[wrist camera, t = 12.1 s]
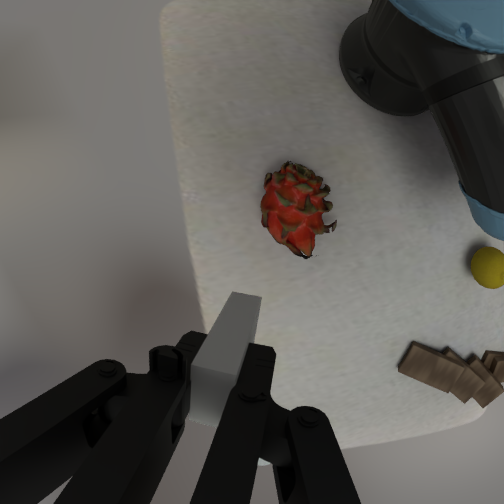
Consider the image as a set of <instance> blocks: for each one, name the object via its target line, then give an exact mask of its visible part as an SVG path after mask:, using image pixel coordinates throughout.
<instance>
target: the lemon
mask: <svg viewBox="0 0 504 504" xmlns="http://www.w3.org/2000/svg"><path fill="white" fill-rule="evenodd" d="M471 272H472V275H473V277H474V279H475V280H476V281H477V282H478V283H479V284H480V285H482V286H483V287H486V288H490V289H496V288H499V287H501V286H502V285H504V254H503V253H502V252H501V251H500V250H498V249H496V248H494V247H483V248H481V249H479V250H478V251H477V252H476V253H475V254H474V256H473V258H472V260H471Z"/></svg>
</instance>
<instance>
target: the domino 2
mask: <svg viewBox="0 0 504 504" xmlns="http://www.w3.org/2000/svg"><path fill="white" fill-rule="evenodd" d="M442 354H443V355H445V356H448V357H450V358H452V359H454V360H457V361H459V362H461V363H463V364H464V367H465V369H464V371H463V372H462V374H461V375H460V377H459V378H458V380H457V381H456V383H455V384H454V386H453V387H452V388H451V390H450V392H451V393H452V394H454V395H455V396H456V397H457V398H458V399H460V400H461V401H462V402H463V403H464V404H465V403H466V402H467V401H468V400H469V399H470V398H471V397H472V396H473V395H474V394H475V393H476V392H477V391H478V390H479V389H480V388H482V387H483V386H484V384H485V380H484V378H483V377H481V376H480V375H479V374H478V373H477V372H476V371H475V370H474V369H473V368H472V367H470V366H469V365H468V364H467V363H466V362H465V361H464V360H463V359H461V358H460V357H459V356H458V355H457V354H456V353H455V352H453V351H452V350H451V349H450V348H449V347H448V348H447V349H446V350H445V351H444V352H443V353H442Z"/></svg>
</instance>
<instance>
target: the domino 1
mask: <svg viewBox="0 0 504 504" xmlns="http://www.w3.org/2000/svg"><path fill="white" fill-rule="evenodd" d="M464 369H465V367H464V364H463V363H461V362H459V361H457V360H454V359H452V358H450V357H448V356H445V355H443V354H441V353H439V352H437V351H434V350H432V349H430V348H428V347H426V346H423V345H421V344H419V343H417V342H415V341H413V342H412V344H411V346H410V348H409V349H408V351H407V353H406V355H405V356H404V358H403V360H402V361H401V363H400V365H399V366H398V372H400V373H402V374H405V375H407V376H409V377H411V378H414V379H416V380H418V381H421V382H423V383H425V384H428V385H430V386H432V387H435V388H437V389H439V390H442V391H444V392H446V393H449V391H450V390H451V388H452V387H453V386H454V384H455V383H456V381H457V380H458V378H459V377H460V375H461V374H462V372H463V371H464Z"/></svg>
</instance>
